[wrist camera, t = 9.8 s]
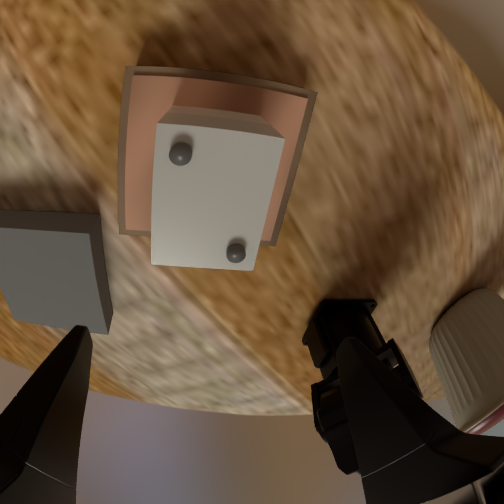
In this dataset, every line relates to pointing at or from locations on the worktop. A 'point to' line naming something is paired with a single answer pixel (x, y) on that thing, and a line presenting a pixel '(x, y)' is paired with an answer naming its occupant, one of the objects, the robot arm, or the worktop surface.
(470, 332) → the canister
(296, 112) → the brown square tray
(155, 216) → the two-plate housing
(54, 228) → the slate stand
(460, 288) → the worktop surface
